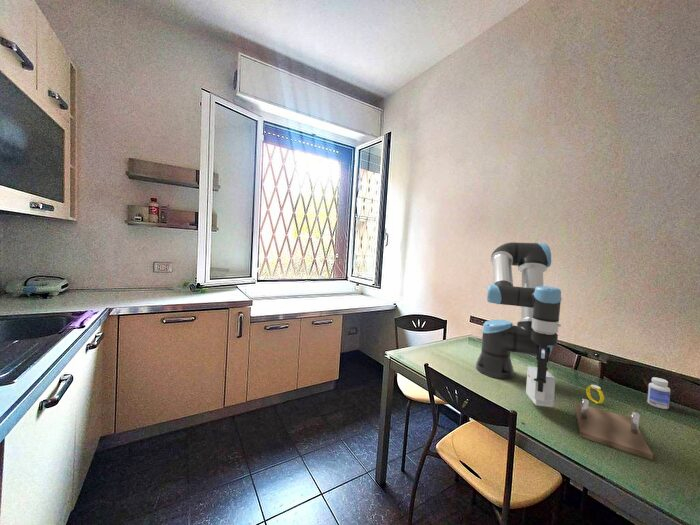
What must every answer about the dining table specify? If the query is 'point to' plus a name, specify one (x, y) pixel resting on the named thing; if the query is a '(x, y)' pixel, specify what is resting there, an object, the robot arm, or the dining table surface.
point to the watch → (598, 392)
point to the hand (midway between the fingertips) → (539, 393)
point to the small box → (548, 387)
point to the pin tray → (611, 429)
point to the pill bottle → (658, 393)
